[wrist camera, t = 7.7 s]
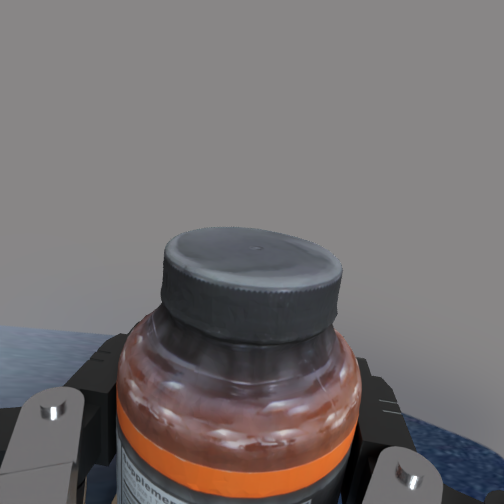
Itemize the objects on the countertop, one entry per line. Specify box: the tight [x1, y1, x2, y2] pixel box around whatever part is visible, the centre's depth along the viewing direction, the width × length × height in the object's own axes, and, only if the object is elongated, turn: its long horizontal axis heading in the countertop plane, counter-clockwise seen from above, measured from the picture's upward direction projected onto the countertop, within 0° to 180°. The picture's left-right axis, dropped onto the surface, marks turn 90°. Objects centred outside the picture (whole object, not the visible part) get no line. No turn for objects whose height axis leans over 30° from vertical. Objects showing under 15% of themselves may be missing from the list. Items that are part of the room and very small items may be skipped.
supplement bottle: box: [116, 227, 362, 504], centre depth 10 cm, size 6×6×11 cm
